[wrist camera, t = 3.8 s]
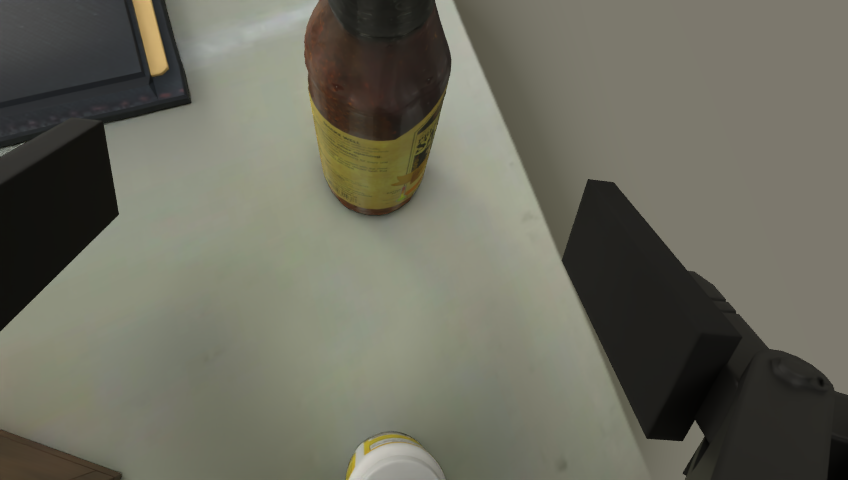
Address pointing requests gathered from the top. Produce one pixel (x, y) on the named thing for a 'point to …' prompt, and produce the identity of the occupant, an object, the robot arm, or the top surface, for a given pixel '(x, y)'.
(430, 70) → the sauce bottle
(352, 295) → the top surface
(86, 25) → the wallet
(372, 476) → the supplement bottle
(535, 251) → the top surface
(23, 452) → the open wooden crate
